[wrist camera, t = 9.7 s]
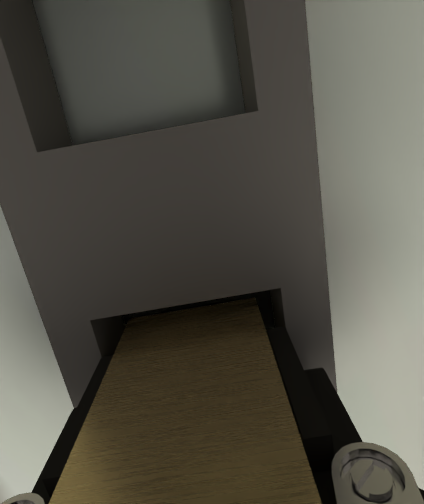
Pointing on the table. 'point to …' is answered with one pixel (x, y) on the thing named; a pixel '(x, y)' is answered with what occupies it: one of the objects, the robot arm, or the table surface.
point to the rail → (167, 198)
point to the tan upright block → (190, 418)
